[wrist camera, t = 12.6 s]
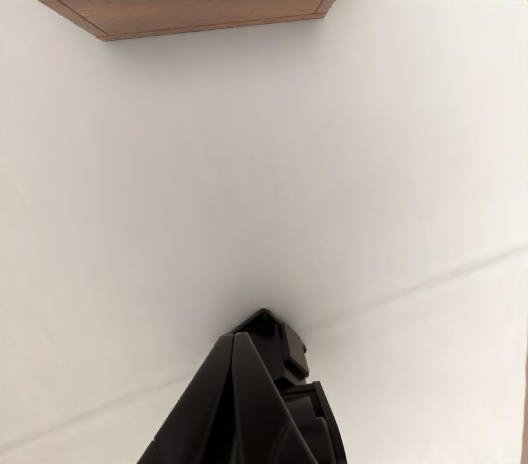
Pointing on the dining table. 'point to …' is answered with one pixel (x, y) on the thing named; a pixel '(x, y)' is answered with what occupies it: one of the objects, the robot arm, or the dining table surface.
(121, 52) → the dining table surface
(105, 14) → the bin
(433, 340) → the dining table surface
